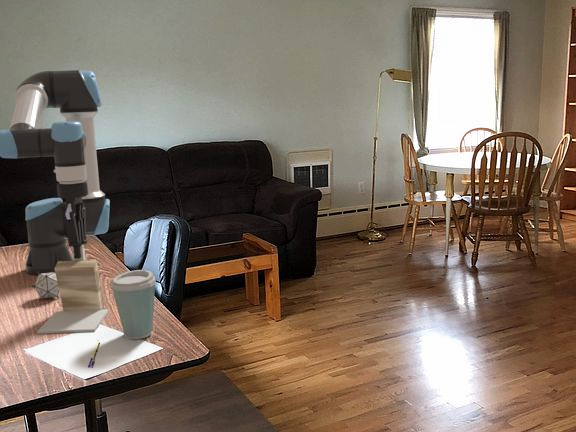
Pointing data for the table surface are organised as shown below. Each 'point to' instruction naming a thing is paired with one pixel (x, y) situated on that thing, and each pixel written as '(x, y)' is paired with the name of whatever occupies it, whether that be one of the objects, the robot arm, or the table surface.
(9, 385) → the table surface
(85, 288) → the wooden block
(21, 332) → the table surface
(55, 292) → the game die
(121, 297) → the disposable coffee cup
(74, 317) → the mat
